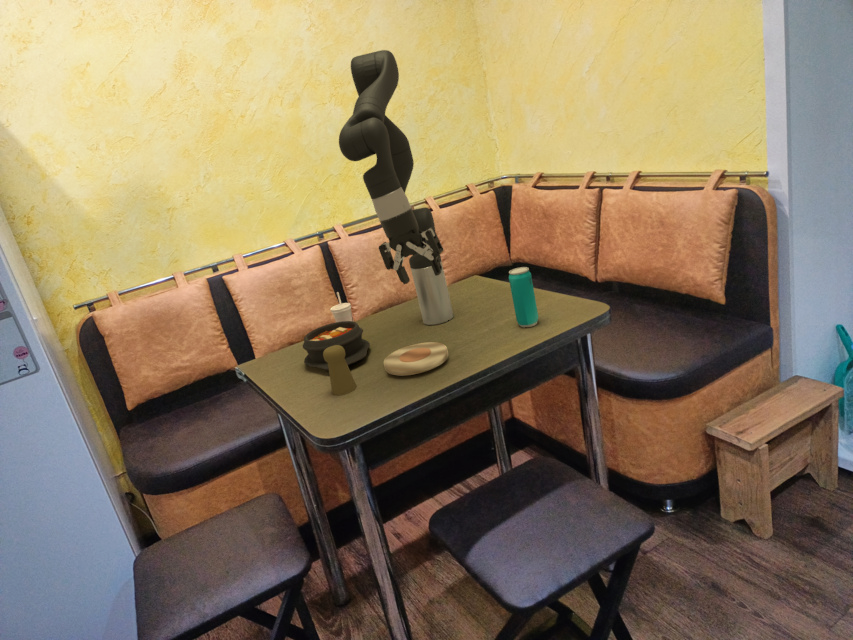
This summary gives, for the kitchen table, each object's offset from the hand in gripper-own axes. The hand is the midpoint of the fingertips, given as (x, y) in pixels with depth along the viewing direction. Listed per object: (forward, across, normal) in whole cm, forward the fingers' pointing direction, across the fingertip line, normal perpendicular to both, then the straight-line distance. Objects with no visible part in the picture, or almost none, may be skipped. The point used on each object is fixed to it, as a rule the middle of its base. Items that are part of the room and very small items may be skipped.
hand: (422, 278), depth 136 cm
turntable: (+21, +11, 0) cm, 24 cm away
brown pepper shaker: (+18, +25, +13) cm, 33 cm away
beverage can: (+26, -11, -23) cm, 37 cm away
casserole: (+18, +38, -6) cm, 43 cm away
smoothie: (+18, +45, -23) cm, 54 cm away
